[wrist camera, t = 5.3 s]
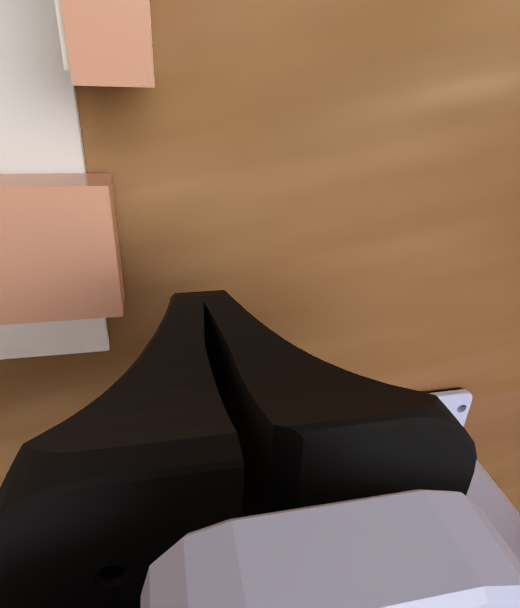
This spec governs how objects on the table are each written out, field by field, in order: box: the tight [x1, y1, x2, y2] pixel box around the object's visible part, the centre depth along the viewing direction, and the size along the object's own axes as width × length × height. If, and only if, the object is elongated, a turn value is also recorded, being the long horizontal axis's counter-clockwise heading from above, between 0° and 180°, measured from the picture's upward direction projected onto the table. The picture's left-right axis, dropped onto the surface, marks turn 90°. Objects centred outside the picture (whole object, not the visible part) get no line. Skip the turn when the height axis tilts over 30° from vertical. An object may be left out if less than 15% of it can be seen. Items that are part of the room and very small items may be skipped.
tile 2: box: [0, 173, 125, 325], centre depth 15 cm, size 4×2×6 cm
